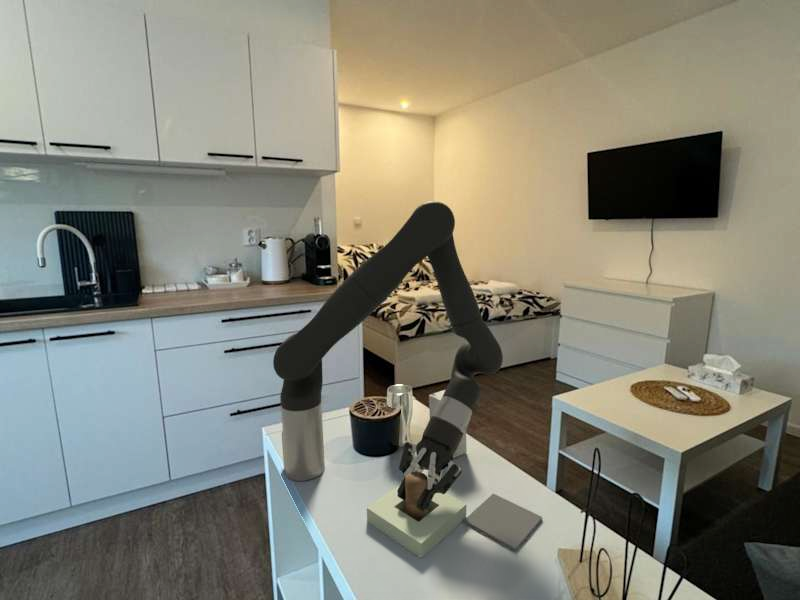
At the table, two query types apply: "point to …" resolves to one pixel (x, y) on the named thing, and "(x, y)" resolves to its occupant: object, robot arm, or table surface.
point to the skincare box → (433, 403)
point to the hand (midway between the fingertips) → (410, 503)
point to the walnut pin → (415, 494)
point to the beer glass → (402, 409)
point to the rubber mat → (503, 521)
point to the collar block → (411, 532)
